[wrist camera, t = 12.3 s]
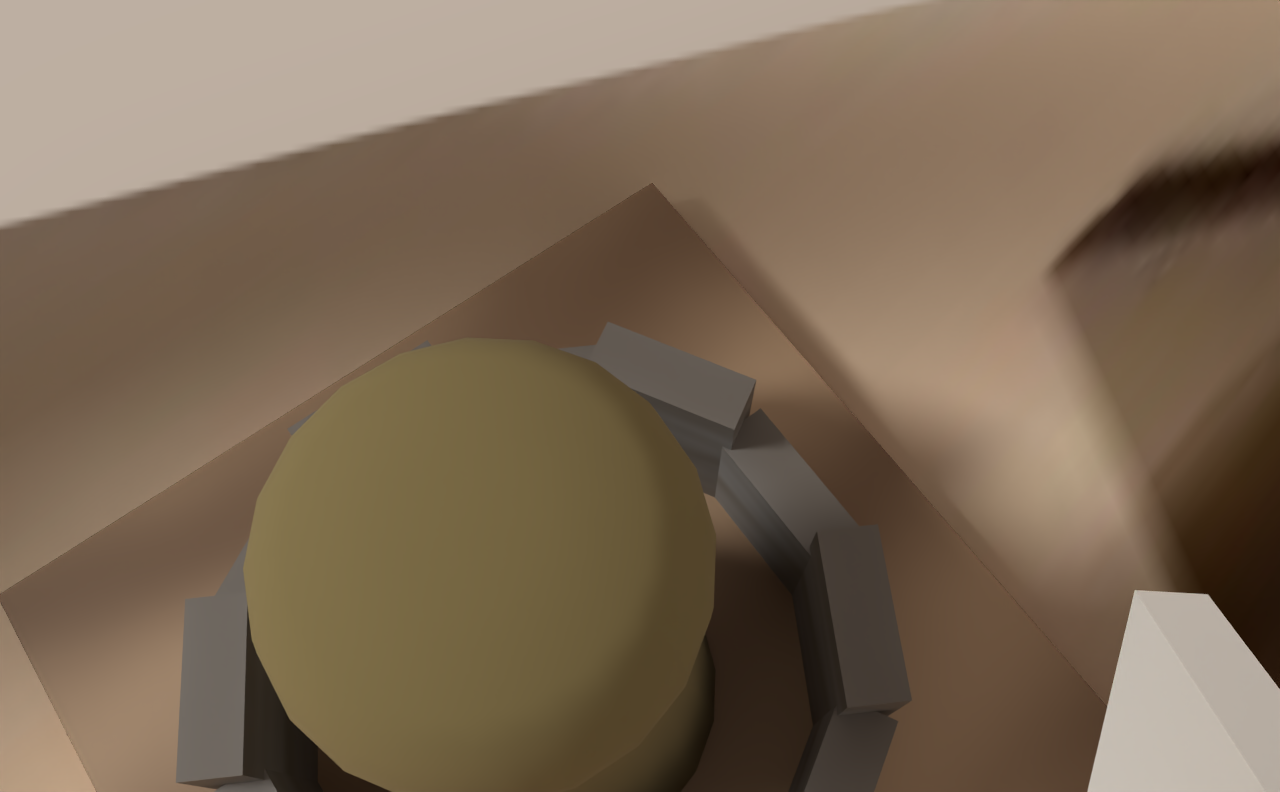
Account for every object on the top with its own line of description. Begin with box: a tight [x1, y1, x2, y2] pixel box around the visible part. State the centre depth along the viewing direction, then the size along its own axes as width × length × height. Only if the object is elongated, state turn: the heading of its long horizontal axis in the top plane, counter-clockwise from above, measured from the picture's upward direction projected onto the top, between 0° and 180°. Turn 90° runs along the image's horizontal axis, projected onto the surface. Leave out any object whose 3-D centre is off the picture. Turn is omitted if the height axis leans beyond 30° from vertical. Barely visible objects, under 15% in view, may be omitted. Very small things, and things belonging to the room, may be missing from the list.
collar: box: [0, 183, 1107, 792], centre depth 20 cm, size 16×16×5 cm
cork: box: [243, 337, 716, 792], centre depth 16 cm, size 6×6×11 cm
